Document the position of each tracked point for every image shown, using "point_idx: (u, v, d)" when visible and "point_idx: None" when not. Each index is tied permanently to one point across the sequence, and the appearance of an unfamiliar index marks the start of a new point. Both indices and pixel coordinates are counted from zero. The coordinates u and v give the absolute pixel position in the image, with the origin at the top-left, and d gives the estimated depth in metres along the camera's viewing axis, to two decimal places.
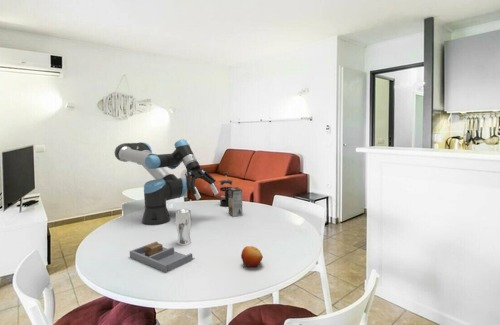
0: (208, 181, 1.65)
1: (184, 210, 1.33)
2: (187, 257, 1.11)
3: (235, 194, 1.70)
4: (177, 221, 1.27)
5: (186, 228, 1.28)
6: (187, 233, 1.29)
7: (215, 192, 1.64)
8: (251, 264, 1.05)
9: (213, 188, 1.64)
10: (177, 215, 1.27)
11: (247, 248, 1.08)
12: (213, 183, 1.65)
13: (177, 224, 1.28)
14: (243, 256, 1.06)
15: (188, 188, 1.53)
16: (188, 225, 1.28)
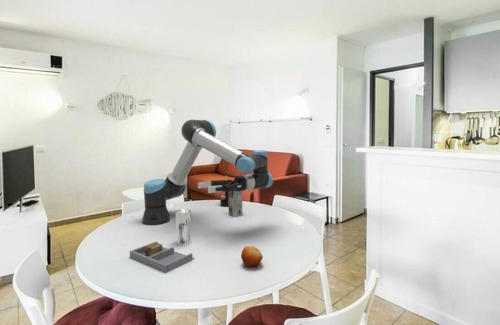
0: (215, 183, 1.43)
1: (184, 210, 1.33)
2: (187, 257, 1.11)
3: (235, 194, 1.70)
4: (177, 221, 1.27)
5: (186, 228, 1.28)
6: (187, 233, 1.29)
7: (200, 185, 1.40)
8: (251, 264, 1.05)
9: (205, 185, 1.41)
10: (177, 215, 1.27)
11: (247, 248, 1.08)
12: (210, 186, 1.43)
13: (177, 224, 1.28)
14: (243, 256, 1.06)
15: (225, 187, 1.28)
16: (188, 225, 1.28)
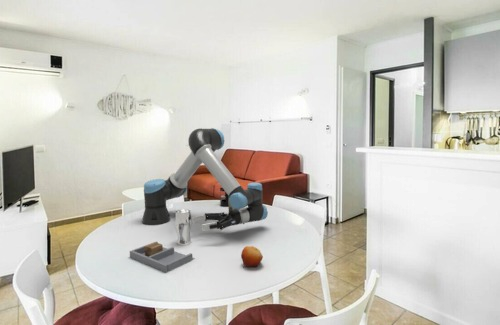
0: (210, 217, 1.42)
1: (184, 210, 1.33)
2: (187, 257, 1.11)
3: None
4: (177, 221, 1.27)
5: (186, 228, 1.28)
6: (187, 233, 1.29)
7: (194, 219, 1.39)
8: (251, 264, 1.05)
9: (200, 219, 1.40)
10: (177, 215, 1.27)
11: (247, 248, 1.08)
12: None
13: (177, 224, 1.28)
14: (243, 256, 1.06)
15: (219, 225, 1.28)
16: (188, 225, 1.28)
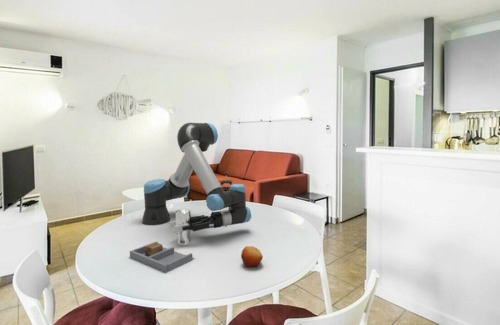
0: None
1: (184, 210, 1.33)
2: (187, 257, 1.11)
3: None
4: (177, 221, 1.27)
5: None
6: (187, 233, 1.29)
7: (172, 224, 1.31)
8: (251, 264, 1.05)
9: None
10: (177, 215, 1.27)
11: (247, 248, 1.08)
12: None
13: (177, 224, 1.28)
14: (243, 256, 1.06)
15: (192, 226, 1.26)
16: None
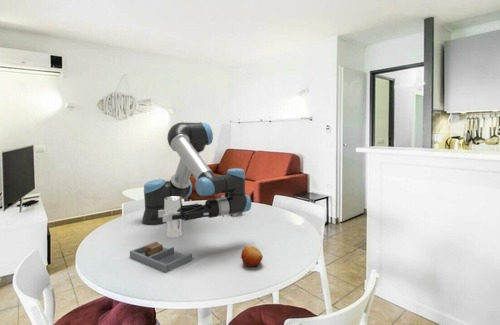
0: None
1: (175, 197, 1.15)
2: (187, 257, 1.11)
3: None
4: (166, 209, 1.10)
5: None
6: (178, 223, 1.12)
7: (161, 213, 1.14)
8: (251, 264, 1.05)
9: None
10: (166, 202, 1.10)
11: (247, 248, 1.08)
12: None
13: (166, 213, 1.10)
14: (243, 256, 1.06)
15: (184, 215, 1.08)
16: None
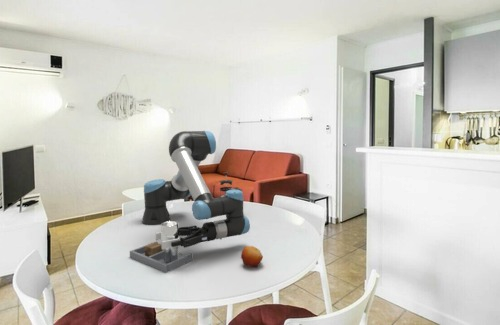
0: None
1: (172, 222, 1.13)
2: (187, 257, 1.11)
3: None
4: (163, 236, 1.08)
5: None
6: (175, 249, 1.09)
7: (158, 236, 1.14)
8: (251, 264, 1.05)
9: None
10: (163, 228, 1.08)
11: (247, 248, 1.08)
12: None
13: (163, 239, 1.08)
14: (243, 256, 1.06)
15: (183, 242, 1.05)
16: None
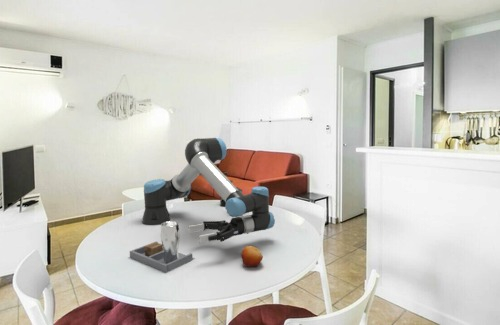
0: (209, 226, 1.25)
1: (171, 222, 1.13)
2: (187, 257, 1.11)
3: None
4: (163, 236, 1.08)
5: (174, 243, 1.09)
6: (175, 250, 1.09)
7: (191, 229, 1.22)
8: (251, 264, 1.05)
9: (197, 228, 1.23)
10: (163, 229, 1.08)
11: (247, 248, 1.08)
12: (202, 229, 1.25)
13: (163, 239, 1.08)
14: (243, 256, 1.06)
15: (220, 236, 1.10)
16: (176, 240, 1.09)
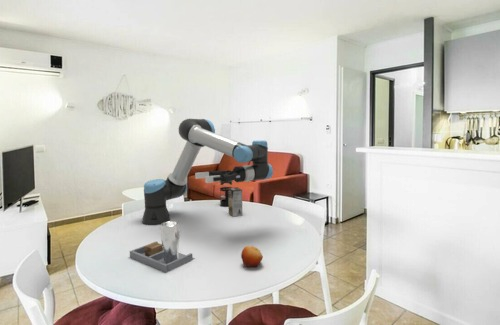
0: (213, 174, 1.38)
1: (171, 222, 1.13)
2: (187, 257, 1.11)
3: (235, 194, 1.70)
4: (163, 236, 1.08)
5: (174, 243, 1.09)
6: (175, 250, 1.09)
7: (198, 175, 1.35)
8: (251, 264, 1.05)
9: (203, 175, 1.36)
10: (163, 229, 1.08)
11: (247, 248, 1.08)
12: None
13: (163, 239, 1.08)
14: (243, 256, 1.06)
15: (223, 177, 1.23)
16: (176, 240, 1.09)
